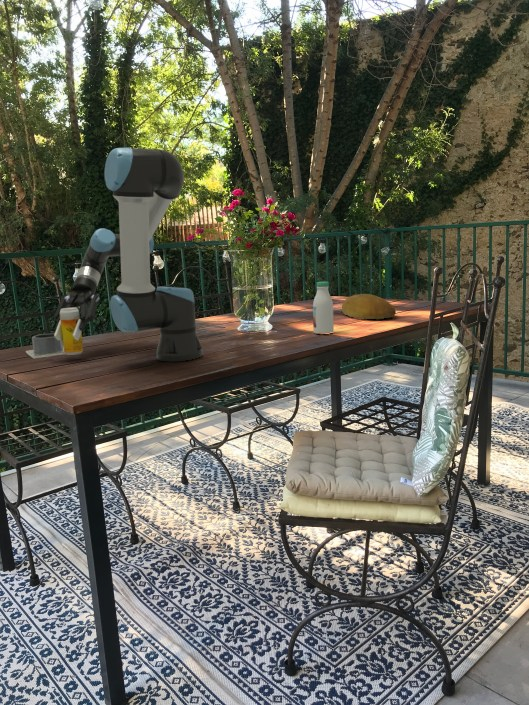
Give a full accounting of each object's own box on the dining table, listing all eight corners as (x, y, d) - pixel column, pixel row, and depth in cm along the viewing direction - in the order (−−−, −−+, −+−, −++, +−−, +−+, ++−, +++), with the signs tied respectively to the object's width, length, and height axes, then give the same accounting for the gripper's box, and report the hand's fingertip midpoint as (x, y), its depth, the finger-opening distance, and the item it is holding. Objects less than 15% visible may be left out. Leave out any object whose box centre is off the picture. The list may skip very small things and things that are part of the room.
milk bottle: (336, 332, 225) (336, 281, 221) (328, 335, 219) (327, 282, 215) (319, 331, 229) (318, 280, 225) (310, 334, 223) (308, 282, 219)
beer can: (77, 355, 189) (72, 309, 186) (60, 355, 190) (55, 310, 188) (87, 351, 195) (82, 307, 192) (70, 351, 196) (65, 307, 193)
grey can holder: (71, 353, 206) (70, 335, 204) (33, 358, 199) (31, 340, 197) (62, 348, 216) (60, 331, 215) (26, 352, 210) (23, 335, 208)
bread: (364, 310, 285) (364, 290, 283) (404, 319, 252) (404, 296, 250) (330, 313, 279) (330, 292, 277) (366, 323, 246) (366, 299, 244)
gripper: (115, 289, 202) (97, 344, 189) (66, 290, 206) (45, 344, 193) (107, 275, 195) (87, 330, 183) (56, 276, 200) (34, 331, 187)
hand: (66, 337), depth 188 cm, fingers closed on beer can, 6 cm apart
